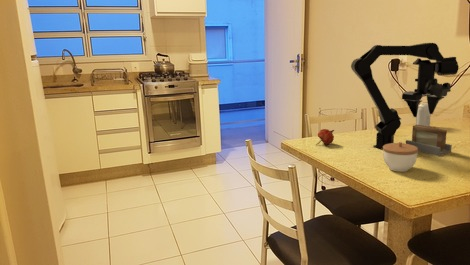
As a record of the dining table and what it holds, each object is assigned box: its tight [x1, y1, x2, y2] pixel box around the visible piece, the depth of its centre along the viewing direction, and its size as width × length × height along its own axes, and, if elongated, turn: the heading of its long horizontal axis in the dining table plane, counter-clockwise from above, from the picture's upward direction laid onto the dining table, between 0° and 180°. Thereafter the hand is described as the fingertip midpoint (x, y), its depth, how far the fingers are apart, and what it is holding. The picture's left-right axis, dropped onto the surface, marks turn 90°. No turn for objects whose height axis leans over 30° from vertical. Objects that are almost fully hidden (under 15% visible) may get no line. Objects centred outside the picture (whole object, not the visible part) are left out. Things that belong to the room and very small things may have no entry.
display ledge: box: [405, 139, 453, 157], centre depth 136 cm, size 7×14×3 cm, turn 26°
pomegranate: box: [315, 128, 335, 146], centre depth 151 cm, size 7×7×10 cm
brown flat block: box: [411, 124, 448, 151], centre depth 135 cm, size 3×12×8 cm, turn 26°
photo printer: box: [415, 102, 432, 127], centre depth 168 cm, size 10×4×12 cm, turn 134°
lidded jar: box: [382, 141, 419, 173], centre depth 117 cm, size 11×11×9 cm
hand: (423, 115), depth 138 cm, fingers open, 9 cm apart
